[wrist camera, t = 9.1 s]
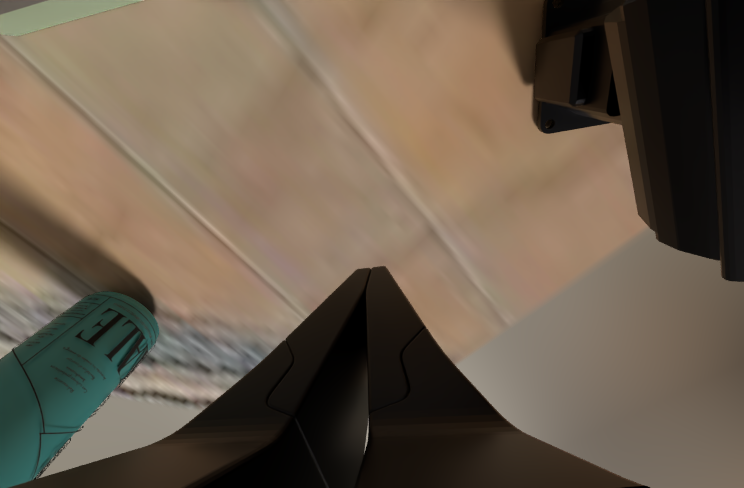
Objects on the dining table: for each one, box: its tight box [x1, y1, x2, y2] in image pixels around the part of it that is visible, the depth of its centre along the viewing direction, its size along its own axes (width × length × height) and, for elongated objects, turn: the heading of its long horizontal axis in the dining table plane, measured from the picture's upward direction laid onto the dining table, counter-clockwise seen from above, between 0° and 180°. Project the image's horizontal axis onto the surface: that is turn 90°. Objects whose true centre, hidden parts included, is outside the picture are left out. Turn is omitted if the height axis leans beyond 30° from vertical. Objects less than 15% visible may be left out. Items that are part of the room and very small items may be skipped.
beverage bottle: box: [0, 291, 159, 488], centre depth 18 cm, size 6×7×20 cm
